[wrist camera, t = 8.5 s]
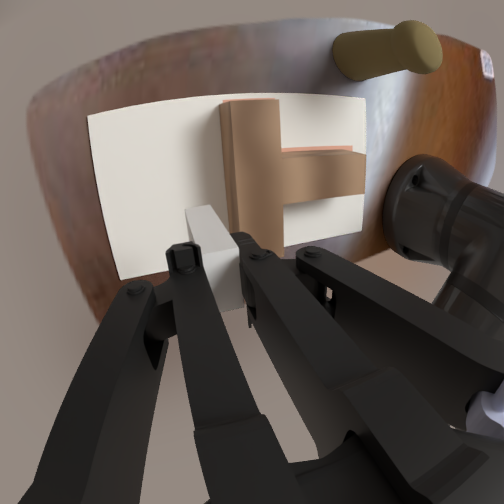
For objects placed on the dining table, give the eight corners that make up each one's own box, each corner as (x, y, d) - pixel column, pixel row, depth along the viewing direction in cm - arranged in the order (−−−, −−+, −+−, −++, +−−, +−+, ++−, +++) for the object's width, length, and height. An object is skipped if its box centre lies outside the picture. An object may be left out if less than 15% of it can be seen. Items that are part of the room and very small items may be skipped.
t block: (341, 103, 27) (366, 104, 23) (340, 226, 33) (360, 239, 30) (218, 104, 23) (230, 100, 20) (231, 247, 30) (242, 265, 26)
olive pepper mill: (374, 86, 27) (452, 87, 18) (332, 75, 25) (410, 66, 16) (374, 40, 25) (449, 29, 15) (332, 26, 23) (406, 2, 13)
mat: (364, 98, 28) (365, 98, 27) (360, 230, 35) (361, 231, 34) (87, 116, 20) (87, 116, 20) (120, 278, 27) (120, 280, 27)
